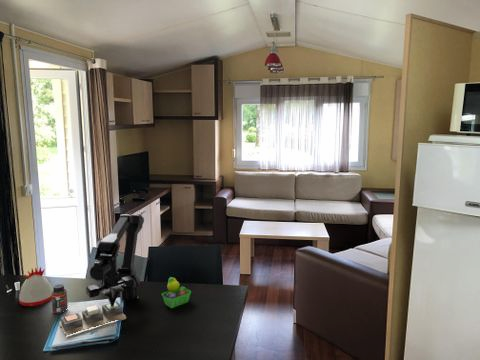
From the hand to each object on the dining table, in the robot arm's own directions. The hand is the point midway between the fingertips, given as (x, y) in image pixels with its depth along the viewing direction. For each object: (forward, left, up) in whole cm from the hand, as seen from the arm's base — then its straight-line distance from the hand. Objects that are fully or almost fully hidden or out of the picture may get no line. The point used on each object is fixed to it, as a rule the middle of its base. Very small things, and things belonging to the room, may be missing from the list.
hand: (112, 305), depth 159 cm
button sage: (0, 0, -3) cm, 3 cm away
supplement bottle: (+17, -18, -5) cm, 25 cm away
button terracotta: (+16, 0, -3) cm, 16 cm away
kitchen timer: (+23, -37, -5) cm, 44 cm away
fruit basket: (-26, +6, -5) cm, 28 cm away
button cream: (+8, 0, -1) cm, 8 cm away
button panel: (+8, 0, -4) cm, 9 cm away
